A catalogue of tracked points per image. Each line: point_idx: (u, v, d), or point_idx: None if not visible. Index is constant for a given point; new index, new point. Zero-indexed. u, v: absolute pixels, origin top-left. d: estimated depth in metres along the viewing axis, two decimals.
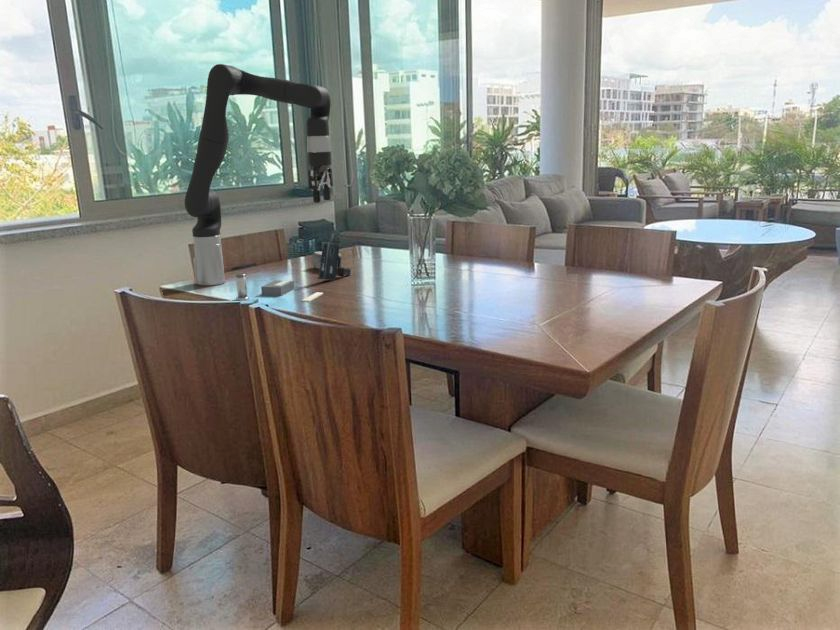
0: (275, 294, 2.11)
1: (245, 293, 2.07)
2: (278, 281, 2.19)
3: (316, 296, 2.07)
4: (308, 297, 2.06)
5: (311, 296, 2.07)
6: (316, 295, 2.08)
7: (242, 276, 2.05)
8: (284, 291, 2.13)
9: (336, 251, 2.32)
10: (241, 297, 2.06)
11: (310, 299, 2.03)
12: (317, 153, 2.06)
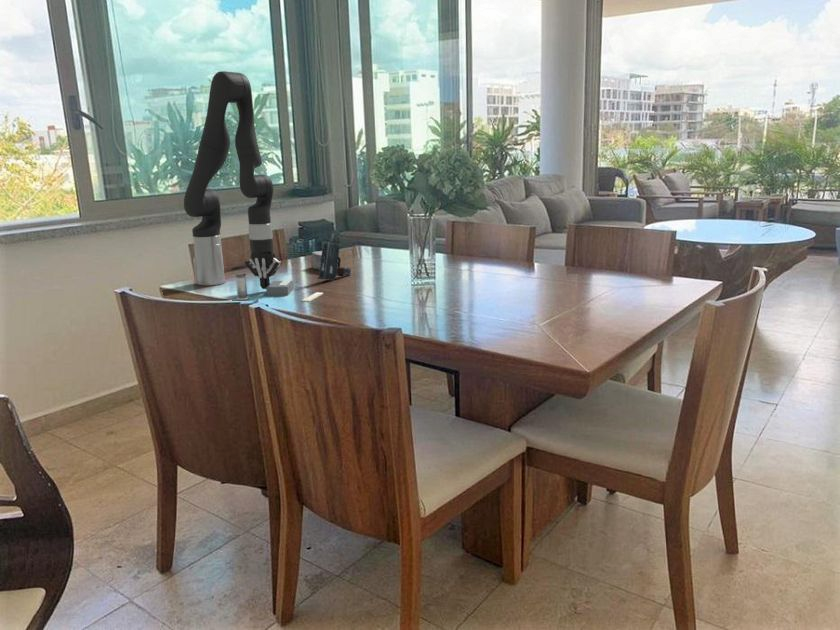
0: (281, 294, 2.11)
1: (245, 293, 2.07)
2: (278, 281, 2.19)
3: (316, 296, 2.07)
4: (308, 297, 2.06)
5: (311, 296, 2.07)
6: (316, 295, 2.08)
7: (242, 276, 2.05)
8: (289, 290, 2.13)
9: (336, 251, 2.32)
10: (241, 297, 2.06)
11: (310, 299, 2.03)
12: (272, 239, 2.13)
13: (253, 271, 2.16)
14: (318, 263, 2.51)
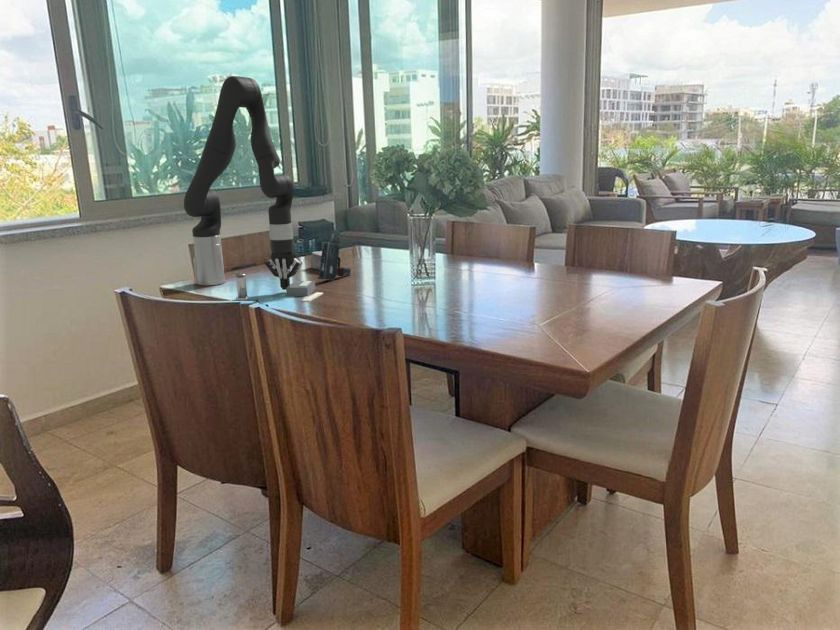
0: (301, 294, 2.10)
1: (245, 293, 2.07)
2: (299, 282, 2.18)
3: (316, 296, 2.07)
4: (308, 297, 2.06)
5: (311, 296, 2.07)
6: (316, 295, 2.08)
7: (242, 276, 2.05)
8: (309, 291, 2.12)
9: (336, 251, 2.32)
10: (241, 297, 2.06)
11: (310, 299, 2.03)
12: None
13: (273, 272, 2.14)
14: (317, 263, 2.52)
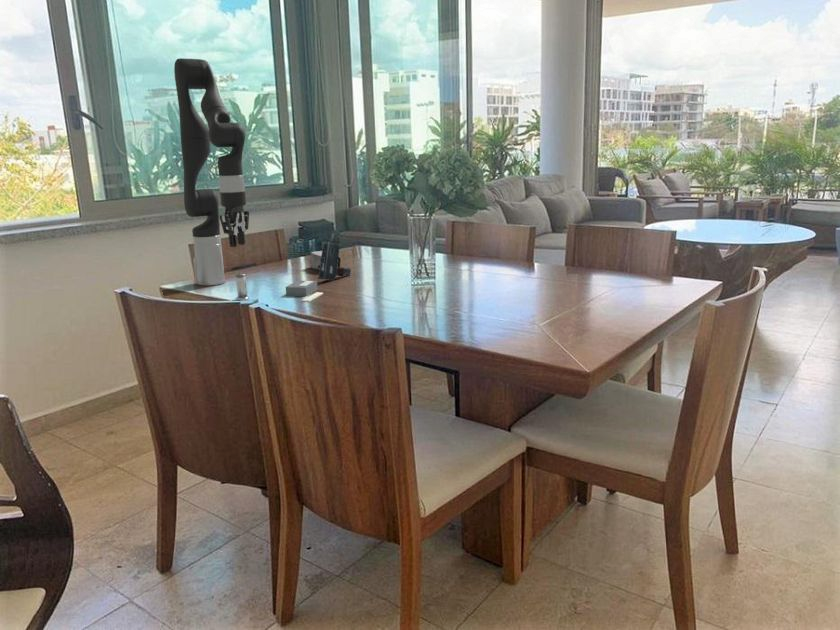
0: (300, 294, 2.10)
1: (245, 293, 2.07)
2: (301, 281, 2.18)
3: (316, 296, 2.07)
4: (308, 297, 2.06)
5: (311, 296, 2.07)
6: (316, 295, 2.08)
7: (242, 276, 2.05)
8: (308, 291, 2.12)
9: (336, 251, 2.32)
10: (241, 297, 2.06)
11: (310, 299, 2.03)
12: None
13: (231, 228, 1.97)
14: (316, 263, 2.52)
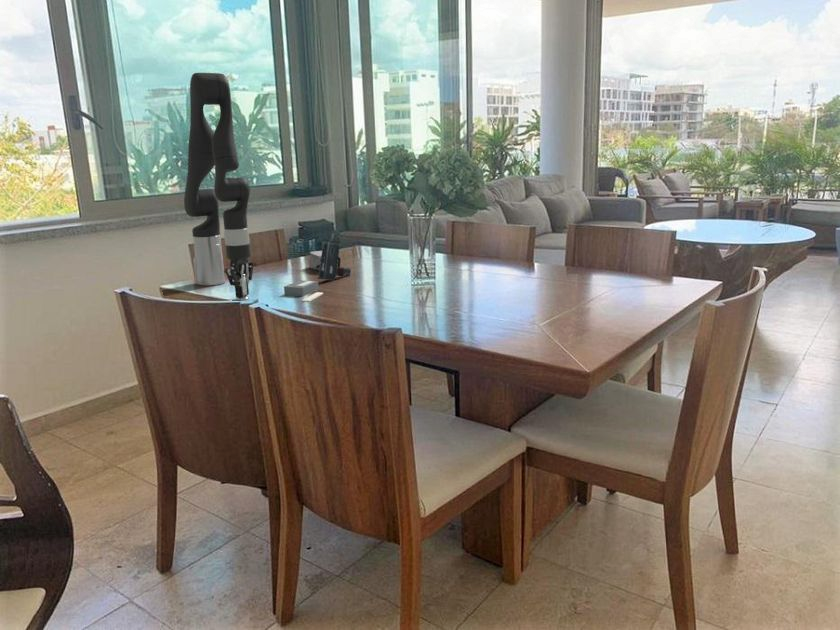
0: (297, 294, 2.10)
1: (245, 293, 2.07)
2: (303, 281, 2.18)
3: (316, 296, 2.07)
4: (308, 297, 2.06)
5: (311, 296, 2.07)
6: (316, 295, 2.08)
7: None
8: (306, 291, 2.11)
9: (336, 251, 2.32)
10: None
11: (310, 299, 2.03)
12: None
13: (237, 280, 2.02)
14: (314, 263, 2.52)
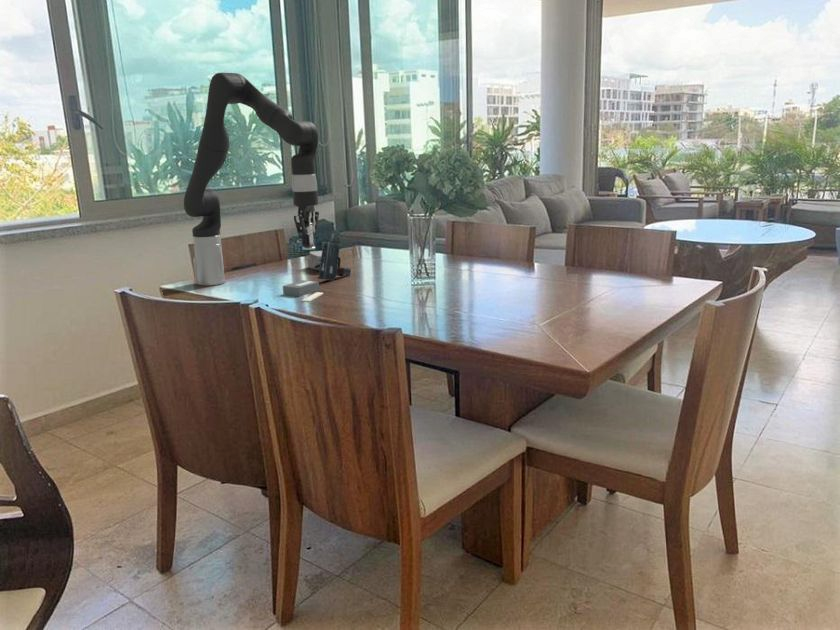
0: (294, 294, 2.10)
1: (312, 242, 2.01)
2: (304, 281, 2.18)
3: (316, 296, 2.07)
4: (308, 297, 2.06)
5: (311, 296, 2.07)
6: (316, 295, 2.08)
7: None
8: (304, 291, 2.11)
9: (336, 251, 2.32)
10: None
11: (310, 299, 2.03)
12: None
13: (305, 228, 1.96)
14: (313, 263, 2.52)
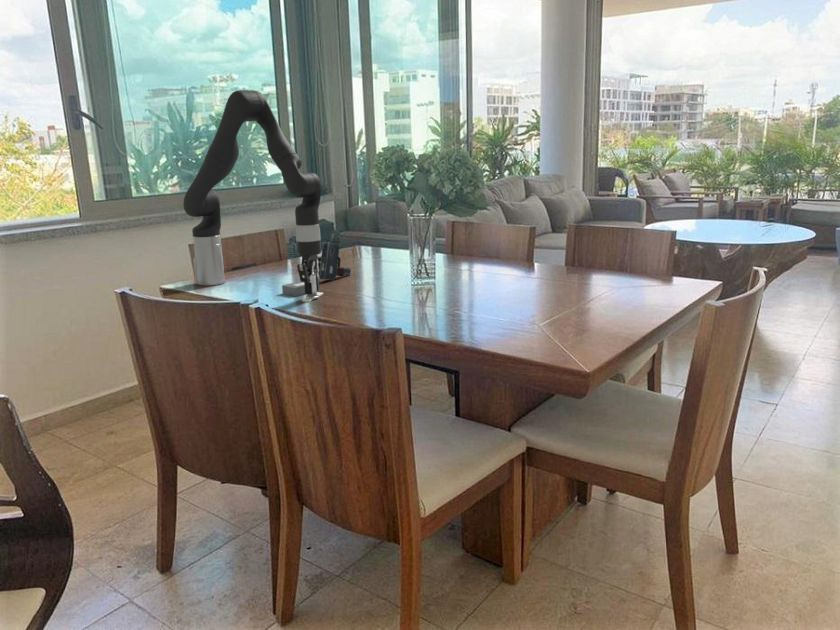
0: (291, 294, 2.11)
1: (315, 292, 2.05)
2: None
3: None
4: None
5: None
6: None
7: (313, 274, 2.03)
8: (301, 292, 2.11)
9: (336, 251, 2.32)
10: (311, 296, 2.04)
11: (310, 299, 2.03)
12: None
13: (307, 276, 1.99)
14: None
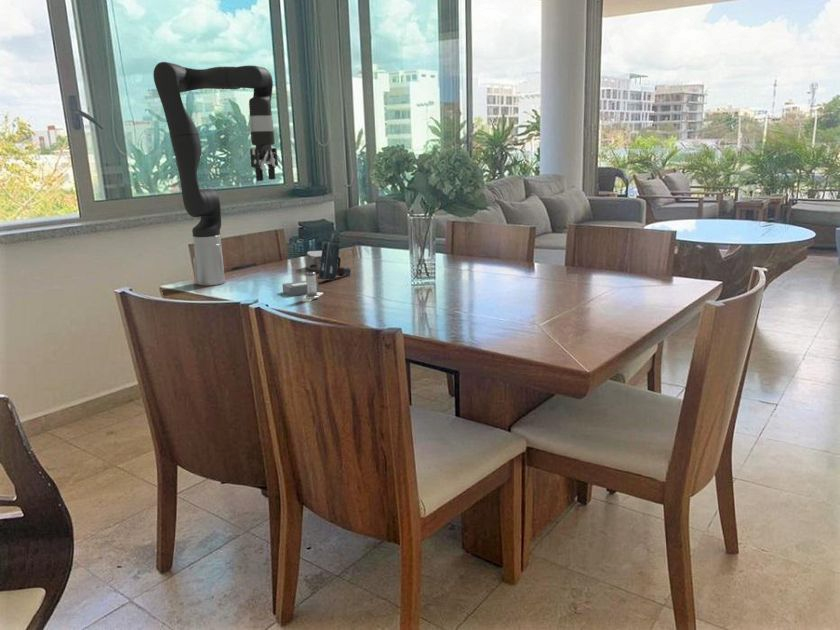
0: (288, 293, 2.12)
1: (315, 292, 2.05)
2: None
3: None
4: None
5: None
6: None
7: (313, 274, 2.03)
8: (296, 292, 2.11)
9: (336, 251, 2.32)
10: (311, 296, 2.04)
11: (310, 299, 2.03)
12: None
13: (258, 162, 2.11)
14: (309, 263, 2.53)
